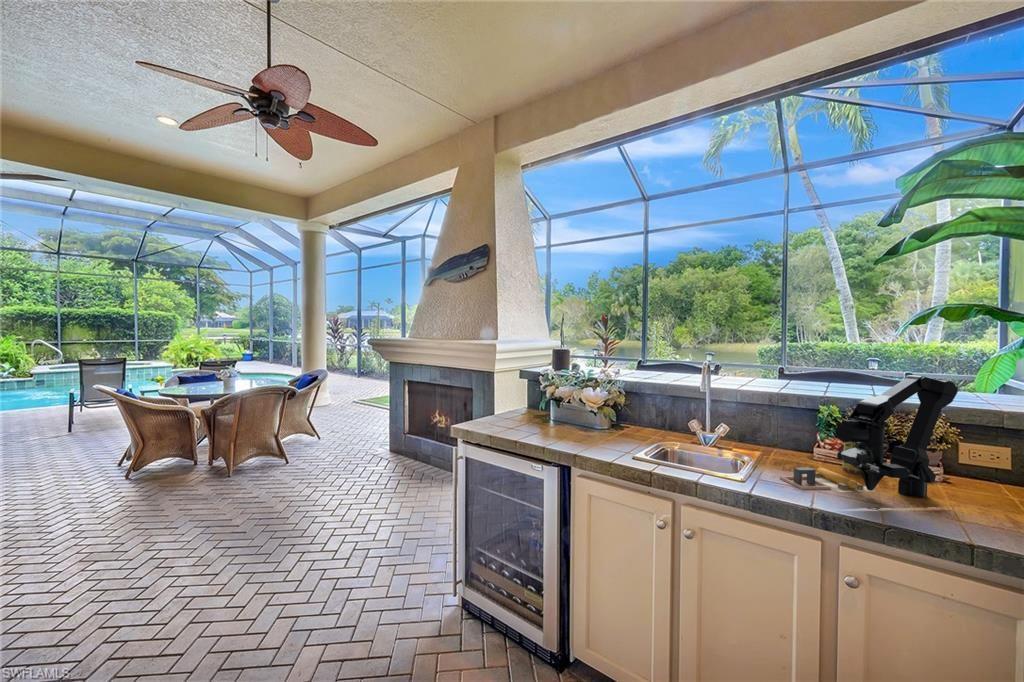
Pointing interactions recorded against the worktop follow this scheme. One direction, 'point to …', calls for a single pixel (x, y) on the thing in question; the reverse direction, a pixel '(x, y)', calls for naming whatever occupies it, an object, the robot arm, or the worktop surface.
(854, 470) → the sauce bottle
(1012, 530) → the worktop surface
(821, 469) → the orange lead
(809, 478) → the dark gray horseshoe block
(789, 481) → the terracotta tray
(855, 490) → the cradle board
